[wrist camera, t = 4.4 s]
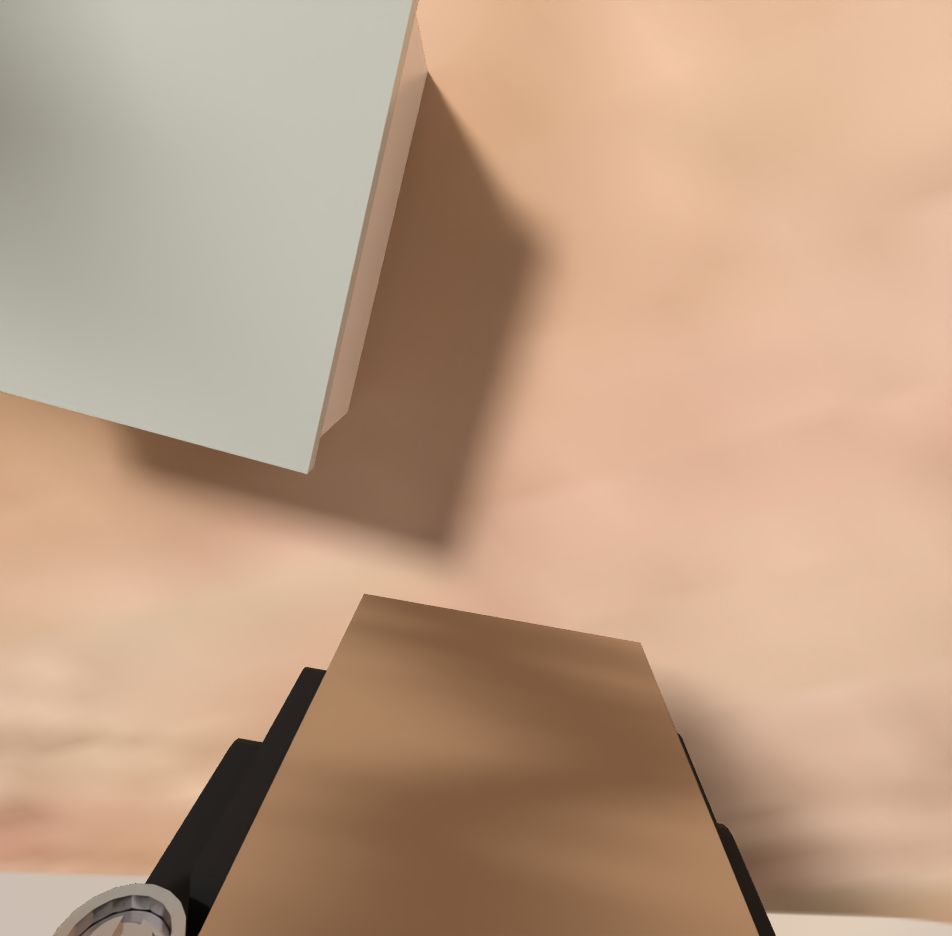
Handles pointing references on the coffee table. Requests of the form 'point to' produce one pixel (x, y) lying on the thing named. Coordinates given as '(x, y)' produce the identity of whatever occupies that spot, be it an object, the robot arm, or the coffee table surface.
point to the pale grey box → (200, 209)
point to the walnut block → (481, 794)
